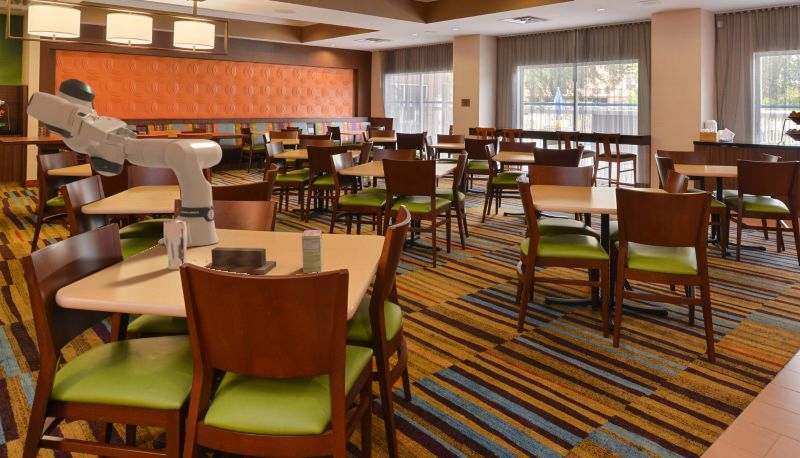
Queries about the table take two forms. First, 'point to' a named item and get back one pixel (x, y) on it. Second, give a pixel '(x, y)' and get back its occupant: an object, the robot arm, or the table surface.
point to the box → (312, 251)
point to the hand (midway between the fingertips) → (131, 138)
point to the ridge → (241, 260)
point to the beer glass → (175, 242)
